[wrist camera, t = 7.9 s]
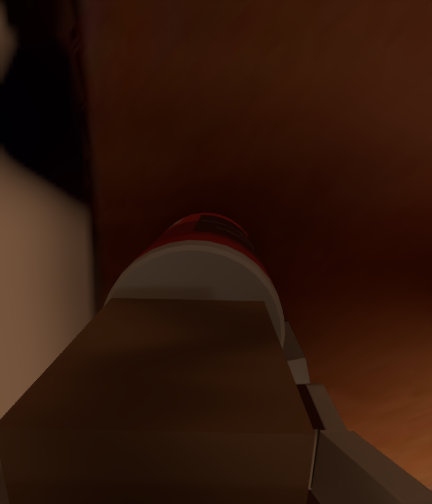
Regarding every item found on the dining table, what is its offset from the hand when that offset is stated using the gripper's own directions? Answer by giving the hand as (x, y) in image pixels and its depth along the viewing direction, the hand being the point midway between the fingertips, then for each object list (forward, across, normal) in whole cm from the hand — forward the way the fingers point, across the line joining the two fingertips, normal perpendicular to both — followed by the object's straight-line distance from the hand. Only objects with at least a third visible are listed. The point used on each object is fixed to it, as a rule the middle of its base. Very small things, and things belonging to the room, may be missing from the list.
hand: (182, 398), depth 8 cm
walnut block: (+2, 0, 0) cm, 2 cm away
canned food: (+14, 0, 0) cm, 14 cm away
